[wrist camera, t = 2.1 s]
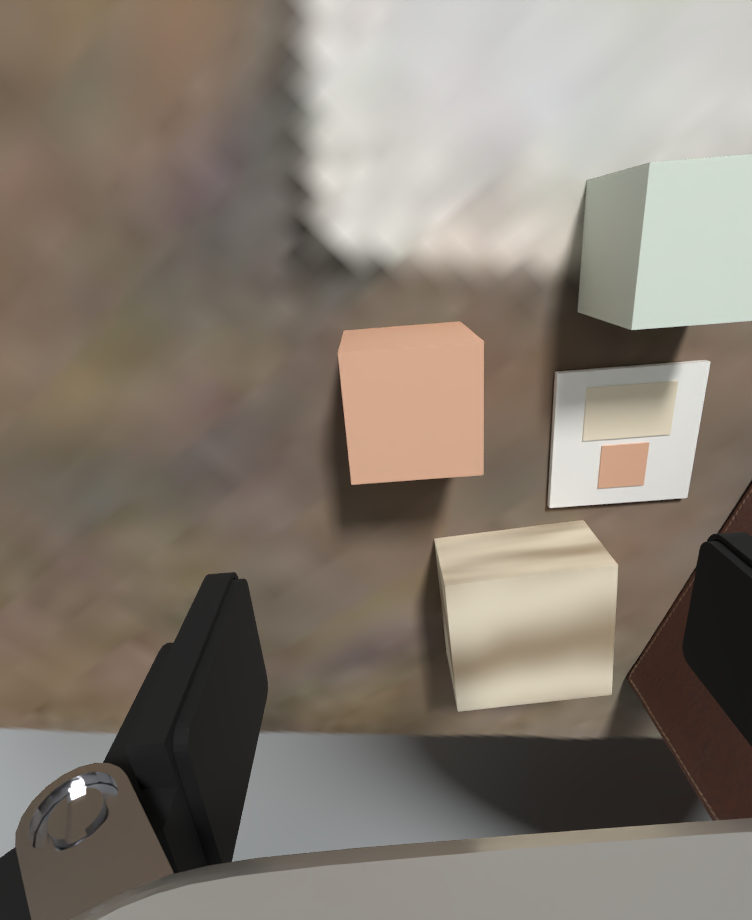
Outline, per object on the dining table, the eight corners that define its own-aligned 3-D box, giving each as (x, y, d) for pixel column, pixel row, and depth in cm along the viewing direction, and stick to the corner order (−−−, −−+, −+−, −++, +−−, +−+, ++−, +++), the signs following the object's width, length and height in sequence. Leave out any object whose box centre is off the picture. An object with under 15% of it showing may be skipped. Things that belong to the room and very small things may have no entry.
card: (554, 371, 28) (558, 373, 27) (706, 359, 28) (711, 362, 27) (547, 504, 31) (549, 508, 31) (683, 494, 31) (688, 498, 30)
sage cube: (586, 180, 25) (649, 162, 19) (714, 169, 24) (816, 148, 19) (576, 312, 27) (631, 330, 21) (694, 302, 27) (780, 318, 21)
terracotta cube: (343, 330, 27) (337, 352, 22) (460, 321, 27) (483, 341, 21) (354, 439, 29) (351, 484, 24) (461, 431, 29) (483, 475, 24)
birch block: (433, 536, 32) (444, 585, 27) (581, 518, 32) (618, 565, 27) (445, 650, 35) (457, 711, 31) (579, 635, 35) (611, 694, 31)
